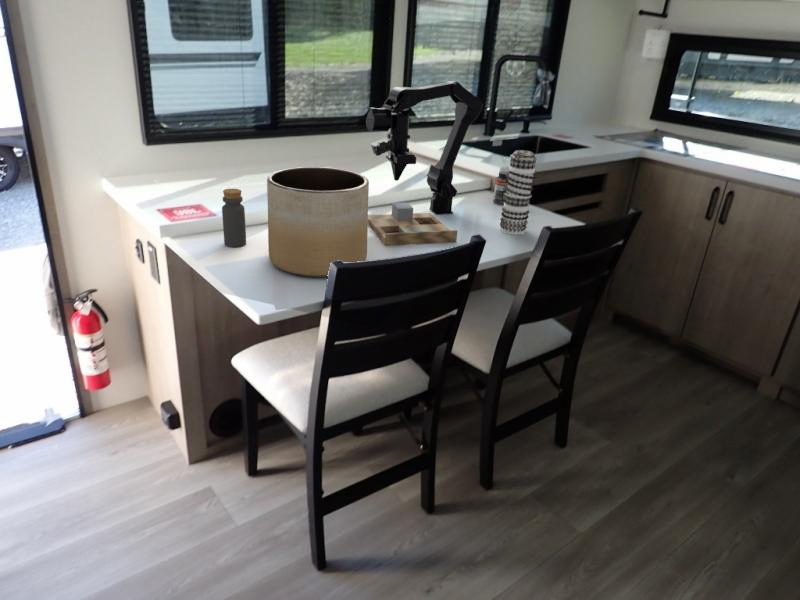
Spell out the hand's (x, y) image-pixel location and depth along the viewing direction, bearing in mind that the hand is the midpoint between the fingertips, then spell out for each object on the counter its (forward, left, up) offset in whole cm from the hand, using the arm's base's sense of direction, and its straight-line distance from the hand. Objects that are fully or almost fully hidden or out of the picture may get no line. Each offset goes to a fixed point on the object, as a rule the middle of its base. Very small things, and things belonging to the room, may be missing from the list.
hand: (396, 180), depth 189 cm
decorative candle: (-34, +19, -12) cm, 41 cm away
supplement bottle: (-45, -11, -12) cm, 48 cm away
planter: (+32, +35, -12) cm, 49 cm away
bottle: (+52, +19, -12) cm, 57 cm away
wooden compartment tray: (0, +15, -12) cm, 19 cm away
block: (0, +8, -10) cm, 13 cm away
